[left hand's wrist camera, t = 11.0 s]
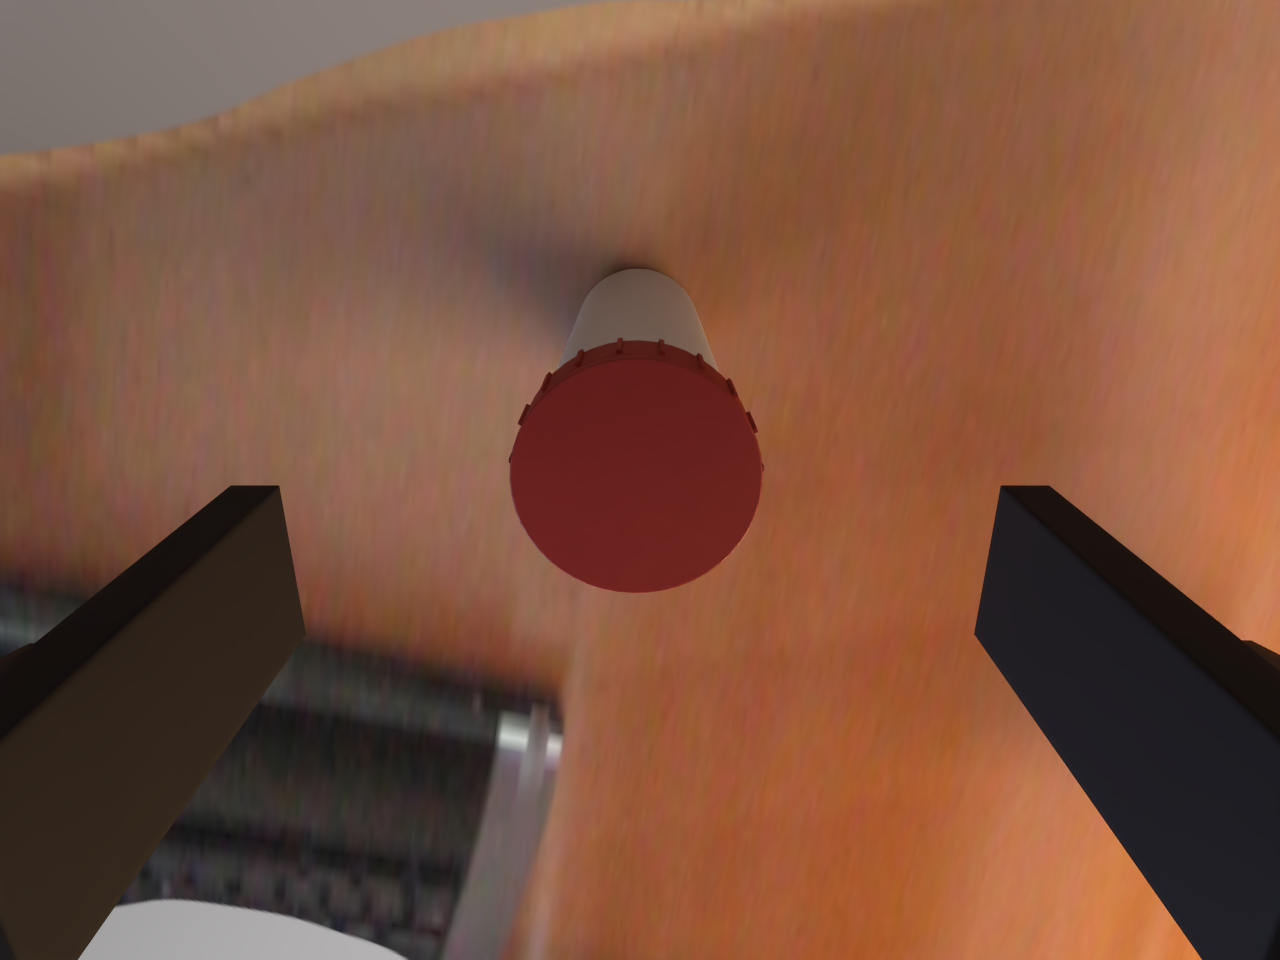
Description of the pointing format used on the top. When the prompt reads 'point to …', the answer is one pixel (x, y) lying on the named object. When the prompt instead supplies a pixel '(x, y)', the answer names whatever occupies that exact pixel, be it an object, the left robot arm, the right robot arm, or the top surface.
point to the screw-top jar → (638, 315)
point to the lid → (636, 467)
